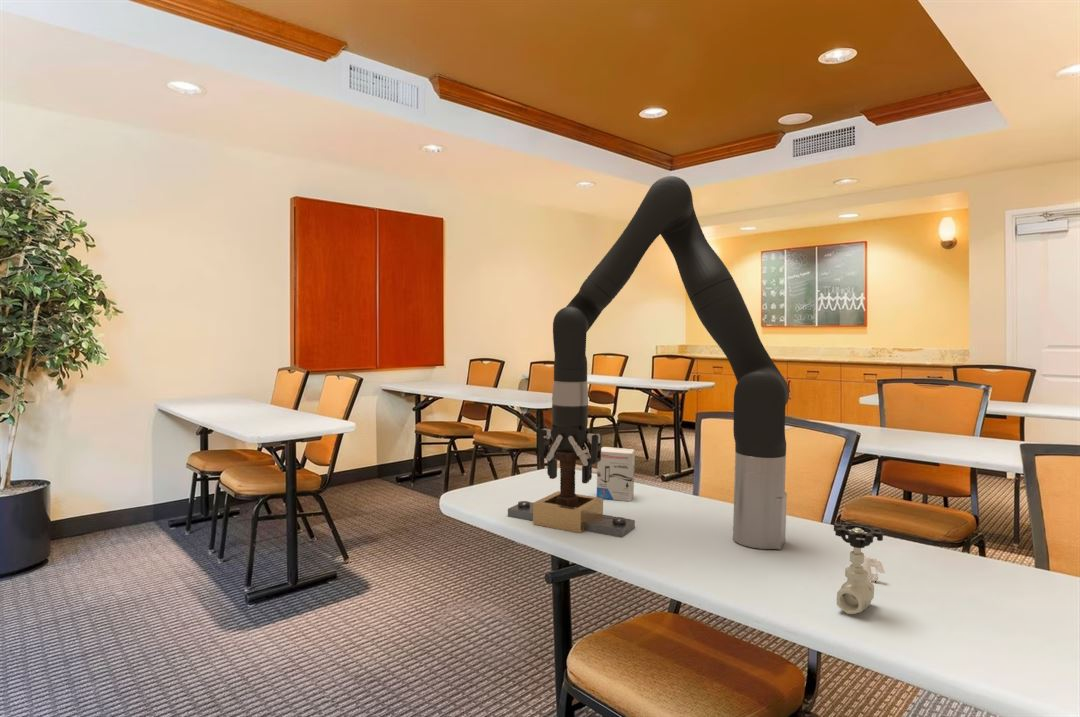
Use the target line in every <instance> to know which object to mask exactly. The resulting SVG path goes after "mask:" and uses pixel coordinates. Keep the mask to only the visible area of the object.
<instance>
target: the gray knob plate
mask: <svg viewBox="0 0 1080 717" xmlns="http://www.w3.org/2000/svg"><path fill="white" fill-rule="evenodd" d="M635 524H636V520H635V519H631V518H630V519H629V518H627V517H622V516H621V517H620V516H614V515H613V516H612V515H608V514H604V513H603V514H598V515H597V516H595V517H593V518H592V519H590V520H588V521H587V522H585V532H591V533H597V534H602V535H608V536H612V537H618V538H623V537H624V536H626V535H627V534H628V533H630V532H631V531H633V529H635V528H636V526H635Z"/></svg>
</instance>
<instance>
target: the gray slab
mask: <svg viewBox="0 0 1080 717" xmlns="http://www.w3.org/2000/svg"><path fill="white" fill-rule="evenodd" d="M533 503H534V502H531V501H528V500H526V501H525V500H521V501H520V500H519V501H518V503H517V504H515V505H513V506H511V507H509V508H507V517H509V518H510V517H512V518H516V519H520V520H521V519H522V520H527V521H532V522H533Z"/></svg>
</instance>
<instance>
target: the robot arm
mask: <svg viewBox="0 0 1080 717" xmlns="http://www.w3.org/2000/svg"><path fill="white" fill-rule="evenodd" d="M660 235H661V237H662V239H663V240H664V242H665V244H666V246H667V247H668V249H669V251H670V252H671V254H672V256H673V259H674V261H675V264H676V267H677V270H678V273H679V276H680V278H681V282H682V284H683V287H684V289H685V291H686V294H687V296H688V298H689V300H690V303H691V305H692V307H693V309H694V311H695V313H696V315H697V317H698V319H699V320H700V323H701V324H702V325H703V327H704V328H705V330H706V331H707V332H708V334H709V335H710V337H711V338H712V339H713V341H714V342H715V343H716V344H717V345H718V347H719V348H720V349H721V351H722V353H723V354H724V355H725V356H726V358H727V360H728V363H729V366H730V367H731V369H732V371H733V375H734V377H735V379H736V381H737V383H736V385H735V388H734V391H733V392H734V395H733V429H732V430H733V439H734V448H735V450H734V454H735V455H734V484H733V485H734V487H733V488H734V489H733V517H732V518H733V520H732V523H733V524H732V525H733V526H732V539H733V541H734V542H736V543H737V544H740V545H742V546H744V547H749V548H753V549H761V550H781V549H782V548H783V545H785V542H786V535H787V534H786V533H787V532H786V531H787V529H786V528H787V498H788V497H787V496H788V495H787V494H788V493H787V492H786V468H787V467H786V464H787V441H786V440H787V438H786V406H787V404H788V402H789V399H790V389H789V388H790V387H789V385H788V382H787V381H786V379H785V378H784V376H783V375H782V373H781V372H780V370H779V369H778V366H777V365H776V364H775V362H774V360H773V359H772V358H771V356H770V354H769V353H768V351H767V350H766V348H765V346H764V344H763V343H762V340H761V338H760V336H759V333H758V332H757V329H756V326H755V324H754V323H755V322H754V321H753V318H752V316H751V314H750V312H749V308H748V306H747V304H746V303H745V300H744V298H743V296H742V294H741V291H740V290H739V287H738V285H737V283H736V282H735V280H734V278H733V275H732V274H731V273H730V271H729V269H728V268H727V267H726V264H725V263H724V262H723V260H722V259H721V258H720V256H719V255H718V253H716V251H715V250H714V249H713V248H712V246H711V245H710V243H709V242H708V240H707V239H706V237H705V234H704V233H703V229H702V228H701V225H700V223H699V219H698V217H697V215H696V211H695V207H694V200H693V194H692V190H691V188H690V186H689V184H688V183H687V182H686V181H685V180H684V179H683V178H681V177H680V176H679V177H678V176H674V175H667V176H664V177H662V178H659V179H657V180H656V181H655V182H653V184H652V185H651V186H650V187H649V189H648V191H647V193H646V194H645V196H644V197H643V200H642V202H641V203H640V205H639V207H638V208H637V209H636V211H635V213H634V215H633V217H632V218H631V219H630V221H629V223H627V226H625V229H624V230H623V232H622V233H621V234H620V235H619V237H618V239H617V240H616V241H615V242H614V244H613V245H612V246H611V247H610V249H609V250H608V252H607V253H606V254H605V255H604V256H603V257H602V259H601V260H600V261H599V262H598V264H597V265H596V266H595V267H594V268H593V270H592V271H591V272H590V273H589V275H588V276H587V278H586V279H585V280H584V281H583V283H582V284H581V286H580V288H579V290H578V292H577V293H576V294H575V295H574V296H573V298H572V299H571V300H570V301H569V303H567V305H566V306H565V307H562V308H561V309H560V310H557V312H556V313H555V316H554V318H553V322H552V340H553V341H552V342H553V350H554V351H553V352H554V361H553V385H552V393H551V394H552V395H551V396H552V397H551V402H552V403H551V404H552V405H551V423H552V424H551V425H552V427H551V429H550V428H548V427H546V428H541V429H539V430H538V455H539V458H543V459H545V461H546V462H547V471H546V472H547V476H548V477H549V479H551V480H553V479H557V477H558V460H556V451H558V450H563V451H565V450H568V451H571V452H576V454H577V456H578V457H580V462H581V463H582V465H581V483H582V484H589V482H590V480H592V477H593V471H592V470H593V465H595V464H598V462H599V461H601V448H602V443H603V442H602V440H603V439H602V438H603V436H602V434H601V433H600V432H597V433H589V430H588V424H589V423H588V422H589V420H588V419H589V417H588V416H589V389H588V388H589V387H588V360H587V359H588V358H587V354H586V352H587V349H586V348H587V332H588V331H589V330H590V329H591V328H592V326H593V325H594V324H595V322H596V321H597V319H598V318H599V317H600V315H601V313H602V312H603V311H604V310H605V309H606V307H608V306H609V304H611V302H612V301H613V300H614V299H615V298H616V297H617V295H618V294H619V293H620V292H621V290H622V289H623V288H624V286H625V285H626V284H627V283H628V281H629V280H630V279H631V277H632V275H633V274H634V272H635V271H636V269H637V267H638V265H639V263H640V262H641V260H642V259H643V257H644V256H645V254H646V252H647V251H648V250H649V248H650V247H651V245H652V244H653V243H654V242H655V241H656V240H657V238H658V237H659V236H660ZM550 438H552V439H553V441H554V442H553V444H552V445H551V447H550ZM587 441H589V443H590V445H591V446H590V450H589V448H588V446H587V444H586V442H587Z"/></svg>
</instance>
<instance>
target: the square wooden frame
mask: <svg viewBox="0 0 1080 717" xmlns="http://www.w3.org/2000/svg"><path fill="white" fill-rule="evenodd" d="M560 491H561V490H560ZM560 491H559V490H557V491H555V492H553V493H552V494H549V495H547V496H544V497H542V498H540V499H538V500H536V501H534V502H532V503H533V521H532V525H536V526H541V527H548V528H551V529H555V530H556V529H557V530H562V531H567V532H572V533H577V534H581V533H583V532H584V531H585V522H587V521H588V520H590V519H592V518H593V517H595V516H597V515H598V514H603V515H604V499H603V498H598V497H597V496H591V495H585V494H579V493H578V494H577V493H575V494H576V495H577V496H578V505H577V506H575V507H569V506H563V505H557V496H558V495H559V494H560V493H561V492H560ZM585 532H586V531H585Z"/></svg>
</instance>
